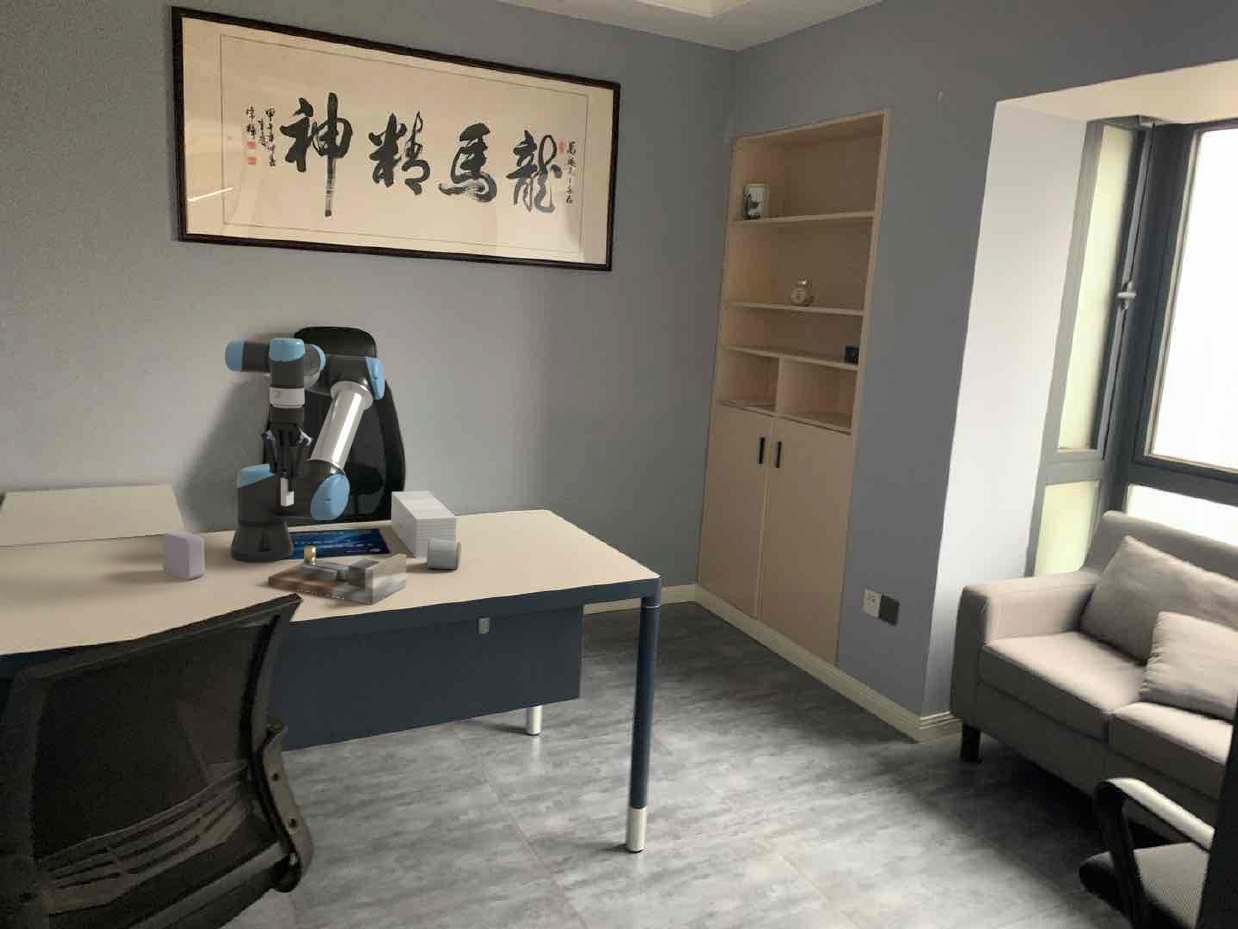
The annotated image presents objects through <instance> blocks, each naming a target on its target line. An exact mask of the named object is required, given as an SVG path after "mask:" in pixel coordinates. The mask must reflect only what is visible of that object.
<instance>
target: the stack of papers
mask: <svg viewBox="0 0 1238 929" xmlns="http://www.w3.org/2000/svg"><path fill="white" fill-rule="evenodd" d="M390 513H391V514H390V517H391V519H390V521H391V522H390V524H391V525H390V527H391V529H392V530H393V531H394V532H395V534H396V535H397V536H398V537H399V539H400V540H401V541H402V542H403V544H404V545H405V546H406V548H408V550H409V552H412V553H413V554H412V553H411V554H412V555H413V556H414V558H415V557H416V559H417V558H418V557H421V558H427V552H428V544H429V540H430V538H435V539H442V540H451V541H456V542H457V539H456V538H457V517H456V515H455V514H453V513H452V512H451V511H450V510H449V509H448V508H447V507H446V506H445V505H444V504H442V502H441V501H439V500H438V499H437V498H436V497H435V496H434V495H433V494H432V493H431V492H430V491H429V490H414V491H411V490H409V491H391V512H390ZM418 559H419V558H418Z"/></svg>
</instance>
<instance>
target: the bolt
mask: <svg viewBox="0 0 1238 929" xmlns="http://www.w3.org/2000/svg"><path fill="white" fill-rule="evenodd" d="M316 548H317V547H316V546H314V545H305V546H304V548H303V557H304V558H303V561H302V562H301V563H302V566H303V565H310V566H315V567H321V568H326V569H332V570H338V579H342V580H347V579H348V572H349V567H346V566H340V565H335V564H329V563H323V562H318V561H316V560H317V559H316V558H317V549H316Z"/></svg>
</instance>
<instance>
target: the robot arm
mask: <svg viewBox="0 0 1238 929" xmlns="http://www.w3.org/2000/svg"><path fill="white" fill-rule="evenodd" d="M224 362H225V365H226V367H227V368H228V370H230V371H232V372H238V373H251V374H254V375H259V376H260V375H261V376H265V377H269V403H270V404H271V405H270V407H269V421H270V422H271V424H270V425H269V426H270V427H269V430H268V431H266V432H262V433H261V434H260V435H261V436H260V437H261V438H262V441H263V442H264V446H265V450H266V451H265V452H266V454H267V455H266V456H267V460H268V463H264V464H257V465H250V466H248V467H244V468H242V469H240V470H239V471H238V473H237V479H236V486H235V489H236V509H237V510H236V512H237V516H236V517H237V524H236V529H235V532H234V535H233V538H232V541H231V542H232V543H231V544H230V557H231V558H233V559H234V560H238V561H241V562H248V563H263V562H264V563H266V562H267V563H269V562H275V561H281V560H283V559H287V558H289V557H291V556H292V555H294V543H293V541H292V539H291V535H290V532H289V529H288V525H287V518H297V519H298V518H299V519H307V520H308V519H311V520H315V521H323V520H326V521H332V520H335V519H337V518H339V517H340V515H342V513H343V512H344V510H345V508H346V507H347V504H348V500H349V494H350V482H349V480H348V478H347V476H346V473H345V471H344V468H345V464H346V462H347V459H348V456H349V453H350V450H351V446H352V445H353V442H354V438H355V435H356V433H357V431H358V427H359V426H360V425H359V424H360V421H361V419H362V417H363V416H362V415H363V414H364V411H365V410H367V409H369V408H370V407H372V404H373V402H374V400H381V399H382V398H383V397H384V394H385V389H386V388H385V387H386V386H385V384H386V383H385V382H386V379H385V371H384V367H383V364H382V362H381V361H380V359H379V358H376V357H370V356H369V357H368V356H367V355H366V356H354V355H353V356H352V355H341V354H330V353H329V354H325V353H324V351H323V350H322V349H321V348H320V347H319V346H317V345H315V344H311V343H304V341H303V340H302V339H301V338H294V337H274V338H272V339H271V340H270V342H263V341H250V340H243V339H242V340H231V341H229V343H228V344H226V347H225V351H224ZM305 390H306V391H308V392H312V393H316V394H319V395H323V396H331V398H332V400H331V401H332V402H331V404H330V407H329V409H328V412H327V415H326V417H325V420H324V423H323V425H322V427H321V430H320V433H319V435H318V438H317V441H316V443H315V446H314V448H313V451H312V454H311V456H310V457H309V458H308V455H309V451H310V447H311V445H312V444H313V442H314V438H313V437H312V436H310V437H309V435H307V434H306V433H305V428H304V426H303V425H304V423H305V407H304V406H303V405H304V404H305Z"/></svg>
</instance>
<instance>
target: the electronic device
mask: <svg viewBox="0 0 1238 929" xmlns="http://www.w3.org/2000/svg"><path fill="white" fill-rule="evenodd" d="M161 540H162V566H163V572H164V573H165V575H166V574H167V575H169V576H172V577H173V578H178V579H180V580H184V581H191V580H193V579H194V580H195V579H198V578H201V577H203V576H204V575H205V571H206V570H205V569H206V568H205V540H204V538H203V537H202V536H199V535H197V534H194V533H189V532H188V531H183V530H179V529H178V530H174V531H173V530H172V531H170V532H164V533H162V539H161Z"/></svg>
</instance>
